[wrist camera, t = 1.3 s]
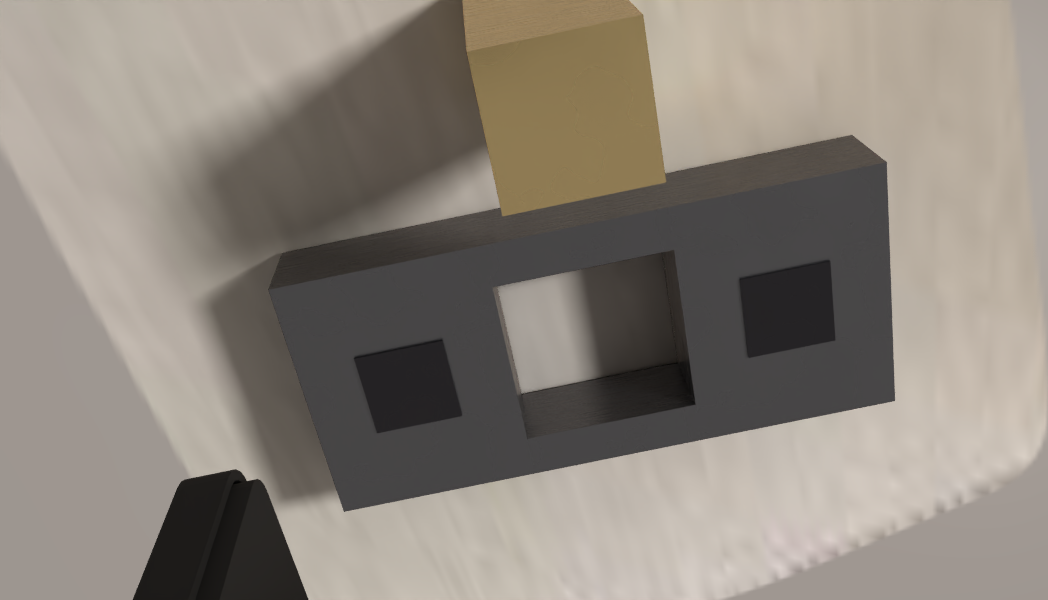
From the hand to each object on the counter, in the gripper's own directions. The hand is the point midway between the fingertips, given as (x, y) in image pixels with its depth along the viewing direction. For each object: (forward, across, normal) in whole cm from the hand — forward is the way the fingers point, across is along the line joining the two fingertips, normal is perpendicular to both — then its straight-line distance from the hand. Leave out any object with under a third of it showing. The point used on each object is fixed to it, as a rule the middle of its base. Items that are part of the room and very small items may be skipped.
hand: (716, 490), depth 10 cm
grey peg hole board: (+24, 0, +10) cm, 26 cm away
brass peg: (+24, 0, 0) cm, 24 cm away
